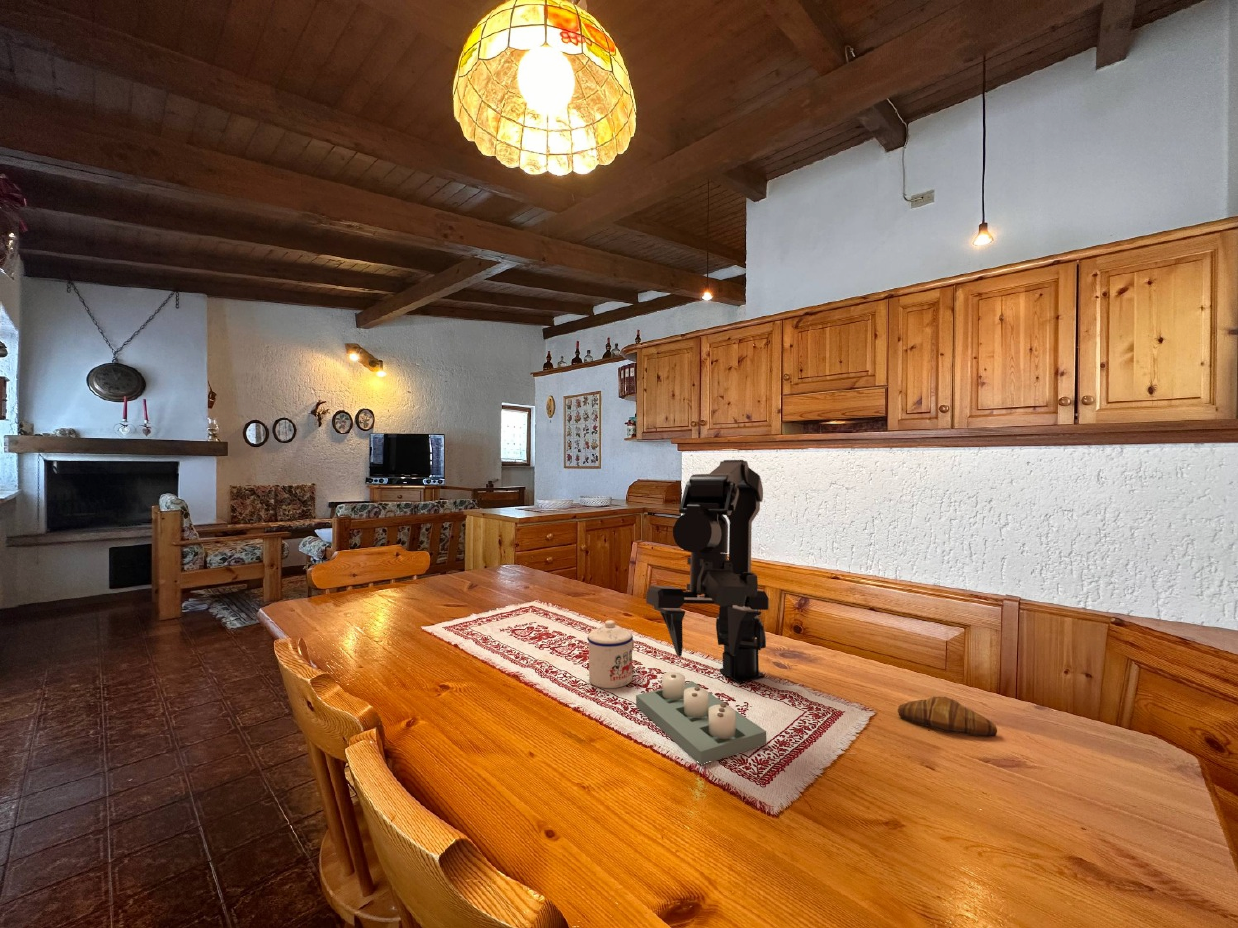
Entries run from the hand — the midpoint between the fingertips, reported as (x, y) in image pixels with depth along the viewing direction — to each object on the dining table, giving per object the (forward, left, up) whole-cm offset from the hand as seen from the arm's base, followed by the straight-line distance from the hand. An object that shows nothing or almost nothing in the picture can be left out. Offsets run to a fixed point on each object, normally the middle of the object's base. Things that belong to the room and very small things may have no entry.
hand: (706, 655), depth 79 cm
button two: (-1, -5, -11) cm, 13 cm away
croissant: (-36, +14, -14) cm, 41 cm away
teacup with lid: (+3, -28, -14) cm, 32 cm away
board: (-1, -5, -13) cm, 15 cm away
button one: (-1, -12, -11) cm, 17 cm away
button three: (-1, +2, -11) cm, 12 cm away
